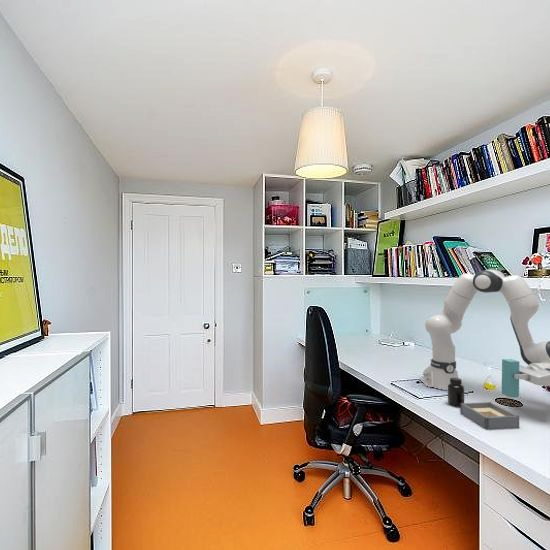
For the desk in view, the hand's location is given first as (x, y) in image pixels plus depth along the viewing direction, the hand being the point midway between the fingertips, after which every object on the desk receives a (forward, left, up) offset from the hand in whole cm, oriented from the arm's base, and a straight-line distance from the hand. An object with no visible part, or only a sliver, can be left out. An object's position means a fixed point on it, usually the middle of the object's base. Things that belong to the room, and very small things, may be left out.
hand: (508, 374), depth 152 cm
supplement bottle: (-14, -15, -18) cm, 27 cm away
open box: (+4, -13, -18) cm, 22 cm away
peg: (0, +1, -9) cm, 9 cm away
